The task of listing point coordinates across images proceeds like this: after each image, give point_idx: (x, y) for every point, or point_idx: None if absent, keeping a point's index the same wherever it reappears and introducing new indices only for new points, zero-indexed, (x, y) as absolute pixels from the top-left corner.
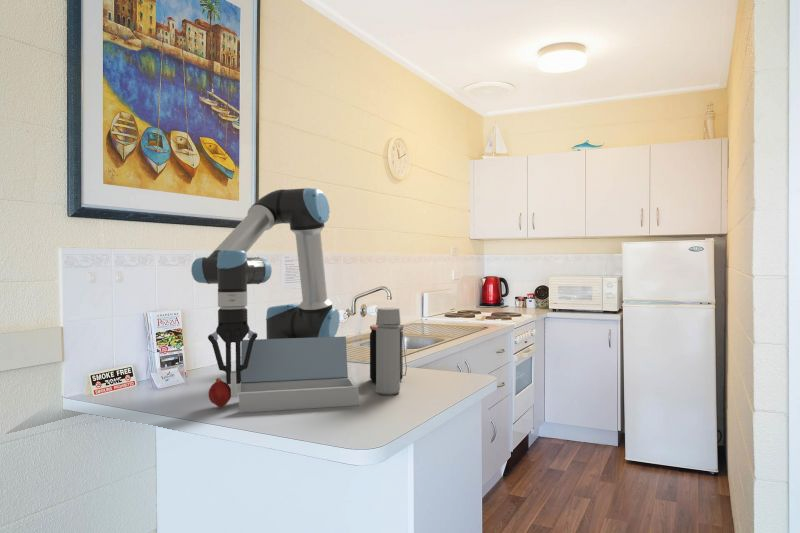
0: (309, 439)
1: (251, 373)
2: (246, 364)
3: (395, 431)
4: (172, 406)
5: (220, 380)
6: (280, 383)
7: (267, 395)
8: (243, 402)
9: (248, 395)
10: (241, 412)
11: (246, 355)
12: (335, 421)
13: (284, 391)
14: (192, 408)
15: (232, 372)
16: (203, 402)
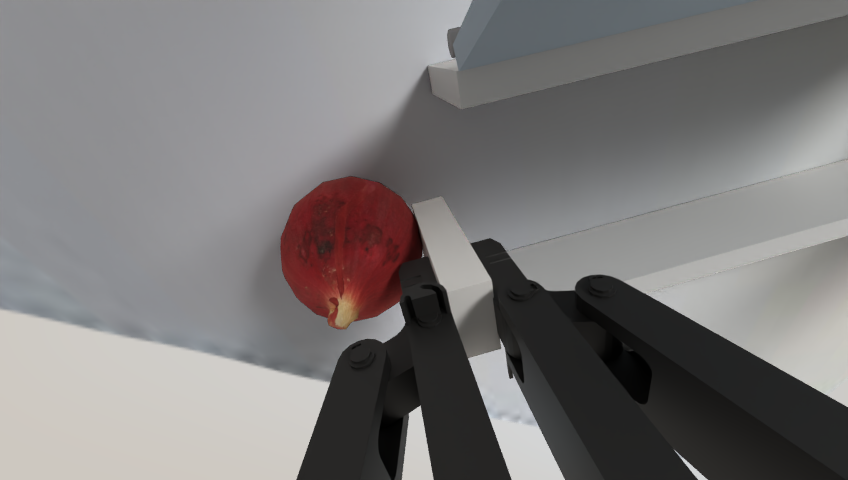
0: None
1: (584, 16)
2: (624, 369)
3: (832, 379)
4: (34, 184)
5: (361, 307)
6: (743, 38)
7: None
8: None
9: None
10: None
11: (703, 460)
12: (750, 333)
13: (705, 273)
14: (202, 222)
15: (471, 350)
16: (183, 83)
